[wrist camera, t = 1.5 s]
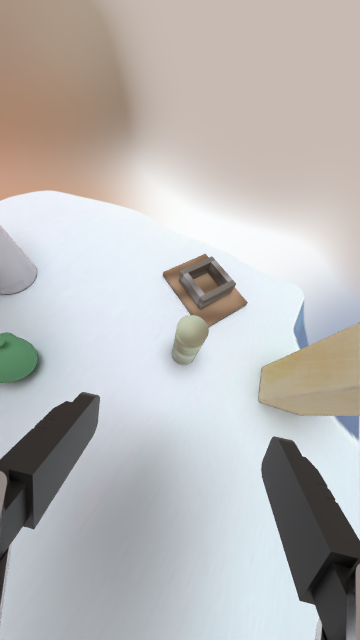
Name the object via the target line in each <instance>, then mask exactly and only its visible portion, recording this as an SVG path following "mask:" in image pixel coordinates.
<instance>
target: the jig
mask: <svg viewBox="0 0 360 640" xmlns="http://www.w3.org/2000/svg"><path fill="white" fill-rule="evenodd" d="M163 276H164V278H165V279H166V281H167V282H168V283H169V285H170V286H171V288H172V289H173V290H174V292H175V293H176V294H177V296H178V297H179V299H180V300H181V301H182V303H183V304H184V306H185V307H186V308H187V310H188V311H189V313H190V314H191V315H195V316H198V317H200V318H202V319H203V320H204V321H205V322H206V324H207V326H208V327H210V326H211V325H213V324H215V323H217V322H218V321H220V320H222V319H223V318H225V317H227V316H228V315H230V314H232V313H234V312H235V311H237V310H239V309H240V308H242V307H244V306H246V304H247V303H248V302H247V301H246V300H245V299H244V298H243V297H242V296H241V294H240V293H239V292H238V291H237V290H236V289H235V285H236V283H235V282H234V281H233V280H232V279H231V277H230V276H229V275H228V274H227V273H226V272H225V271H224V269H223V268H222V267H221V266H220V265H219V264H218V263H217V261H216V260H215V259H214V258H213V257H210V258H209V257H208V256H207V255H206V254H204V255H201V256H199V257H197V258H195V259H192V260H190V261H188V262H186V263H183V264H181V265H179V266H176V267H174V268H172V269H170V270H167V271H165V272H163Z"/></svg>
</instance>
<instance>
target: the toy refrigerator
mask: <svg viewBox="0 0 360 640" xmlns="http://www.w3.org/2000/svg"><path fill="white" fill-rule="evenodd" d="M259 402H261V403H264V404H267V405H270V406H273V407H276V408H279V409H282V410H285V411H288V412H291V413H294V414H297V415H302V416H360V323H357V324H355V325H353V326H351V327H349V328H347V329H344V330H342V331H340V332H338V333H336V334H334V335H331V336H329V337H327V338H325V339H322V340H321V341H318V342H316V343H314V344H312V345H310V346H307V347H305V348H303V349H301V350H299V351H297V352H294V353H292V354H290V355H288V356H286V357H284V358H281V359H279V360H277V361H275V362H272V363H270V364H268V365H266V366H264V367H262V372H261V381H260V391H259Z"/></svg>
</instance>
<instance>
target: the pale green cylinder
mask: <svg viewBox="0 0 360 640" xmlns="http://www.w3.org/2000/svg"><path fill="white" fill-rule="evenodd" d="M208 332H209V330H208V326H207V324H206V322H205V321H204V320H203V319H202V318H200V317H198V316H195V315H188V316H185V317H183V318H182V319H181V320H180V321H179V322H178V324H177V329H176V334H175V340H174V345H173V351H172V356H173V359H174V360H175V361H176V362H177V363H178V364H181V365H187V364H189V363H191V362H192V361H193V359H194V358H195V356H196V354H197V353H198V351H199V350H200V348H201V346H202V345H203V343H204V341H205V340H206V338H207V336H208Z"/></svg>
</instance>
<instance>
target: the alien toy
mask: <svg viewBox="0 0 360 640" xmlns="http://www.w3.org/2000/svg"><path fill="white" fill-rule="evenodd" d="M37 362H38V355H37V352H36V350H35V348H34V347H33V346H32V345H31V344H30V343H29V342H27V341H26V340H24V339H21V338H18V337H16V336H14V335H13V334H11V333H2V334H0V383H10V382H15V381H18V380H21V379H23V378H25V377H26V376H28V375H29V374H30V373H31V372H32V371H33V370H34V368H35V367H36V365H37Z"/></svg>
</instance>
